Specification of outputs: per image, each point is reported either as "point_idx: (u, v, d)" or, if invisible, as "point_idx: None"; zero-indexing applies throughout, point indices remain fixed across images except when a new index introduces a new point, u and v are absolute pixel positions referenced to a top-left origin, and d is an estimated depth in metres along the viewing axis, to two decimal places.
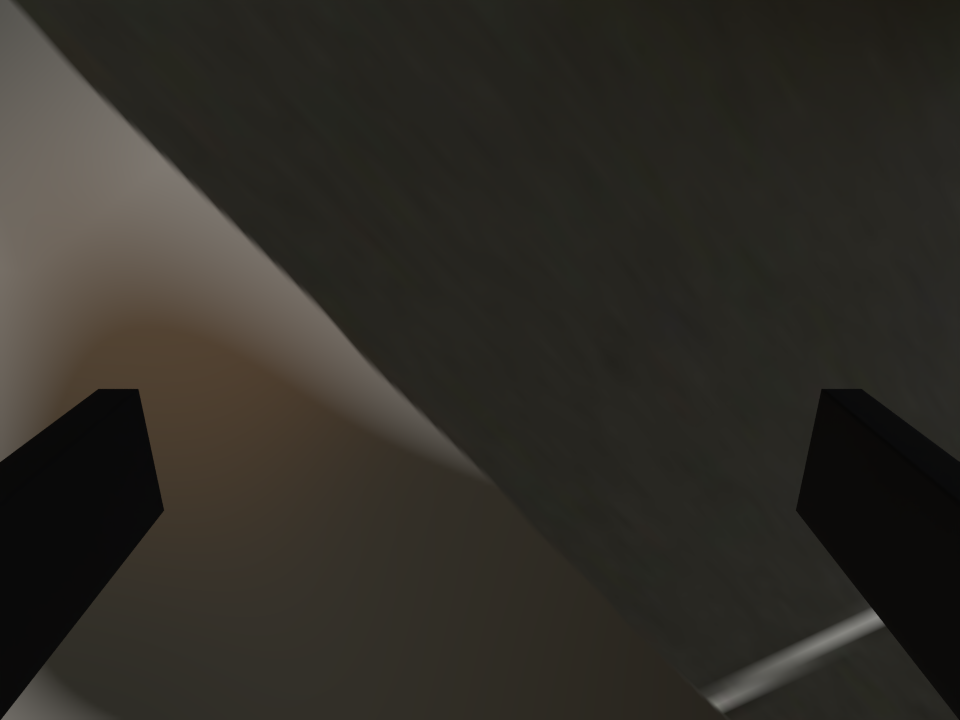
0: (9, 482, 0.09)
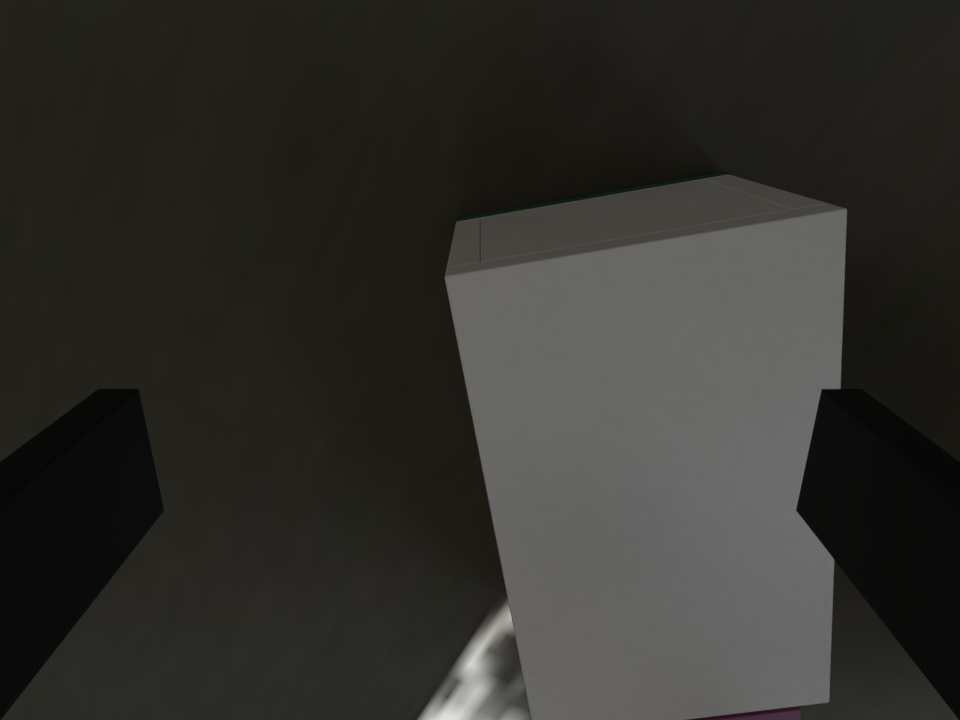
0: (9, 482, 0.09)
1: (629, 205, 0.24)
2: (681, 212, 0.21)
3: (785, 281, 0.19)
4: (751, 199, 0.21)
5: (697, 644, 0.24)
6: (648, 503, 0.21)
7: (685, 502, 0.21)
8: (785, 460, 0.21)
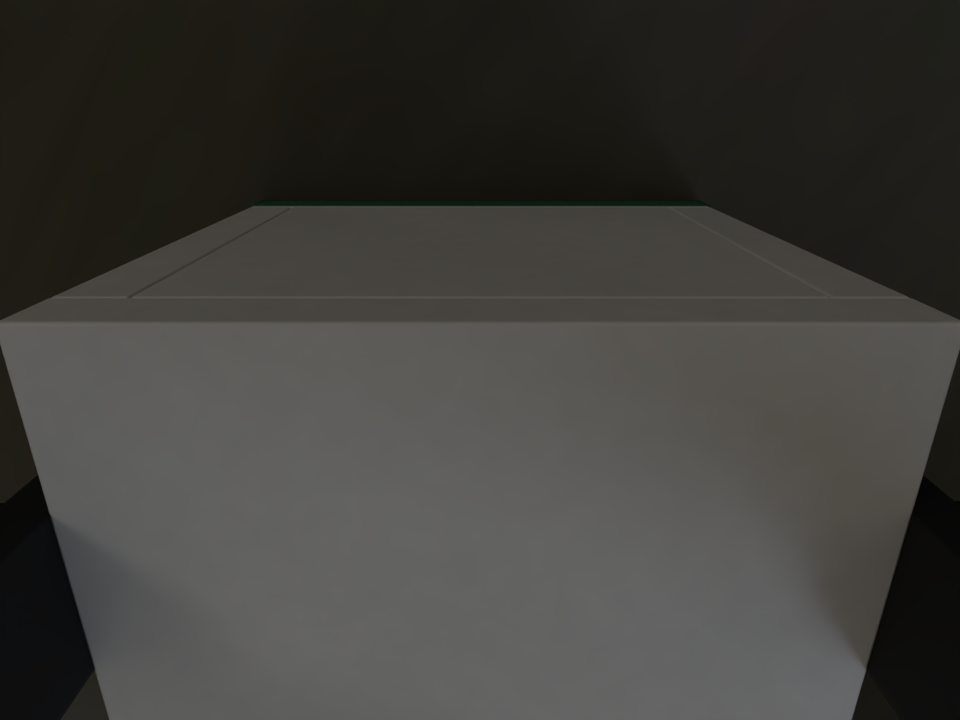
0: None
1: (526, 228, 0.13)
2: (605, 259, 0.10)
3: (796, 458, 0.08)
4: (744, 257, 0.11)
5: None
6: None
7: None
8: None
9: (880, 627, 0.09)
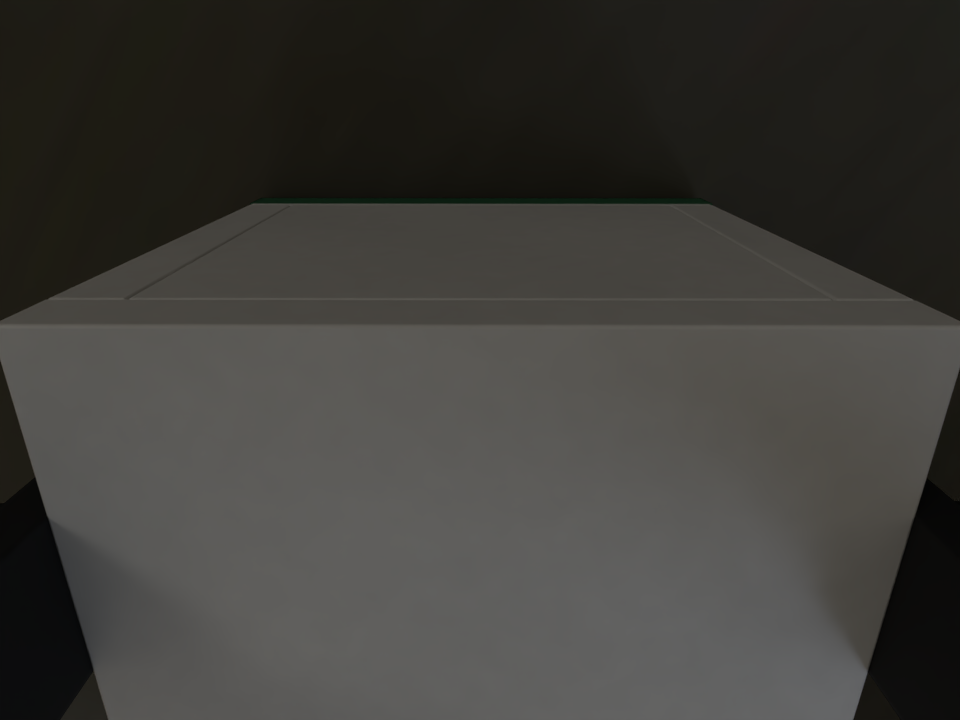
0: None
1: (527, 227, 0.13)
2: (606, 260, 0.10)
3: (798, 462, 0.08)
4: (746, 257, 0.11)
5: None
6: None
7: None
8: None
9: None
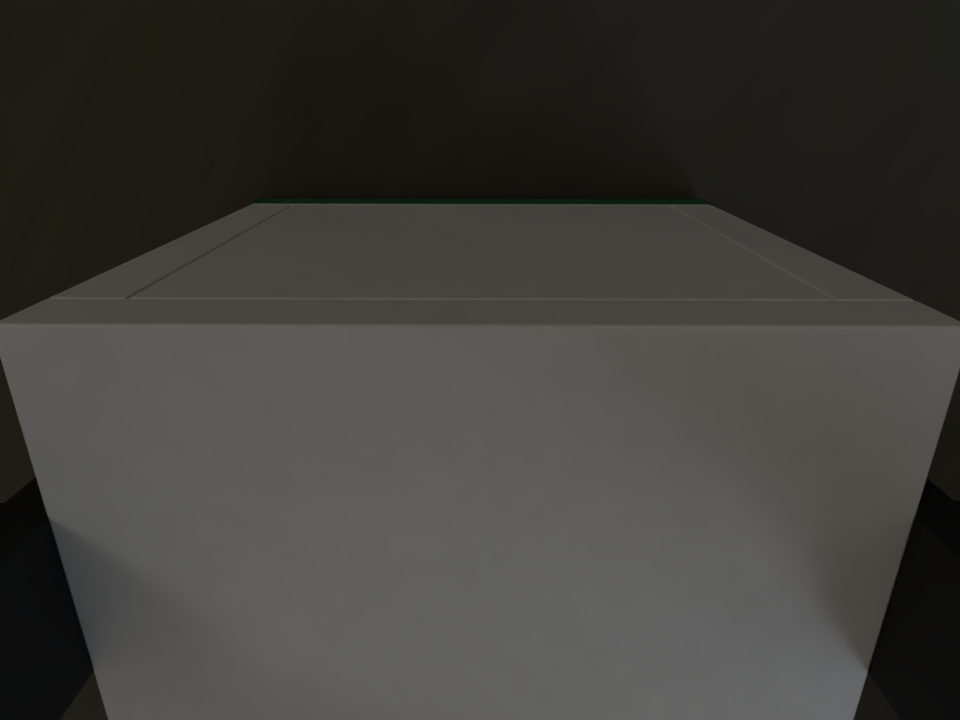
0: None
1: (527, 227, 0.13)
2: (606, 260, 0.10)
3: (798, 463, 0.08)
4: (746, 258, 0.11)
5: None
6: None
7: None
8: None
9: None
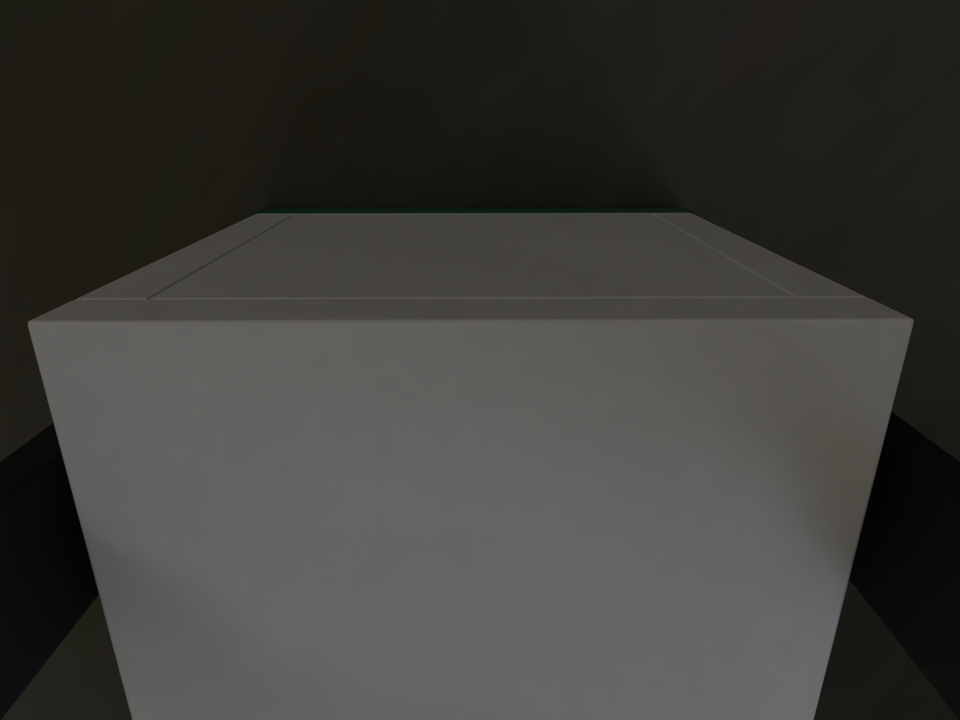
0: (9, 482, 0.09)
1: (517, 234, 0.14)
2: (589, 263, 0.11)
3: (762, 445, 0.09)
4: (719, 261, 0.11)
5: None
6: None
7: None
8: None
9: None
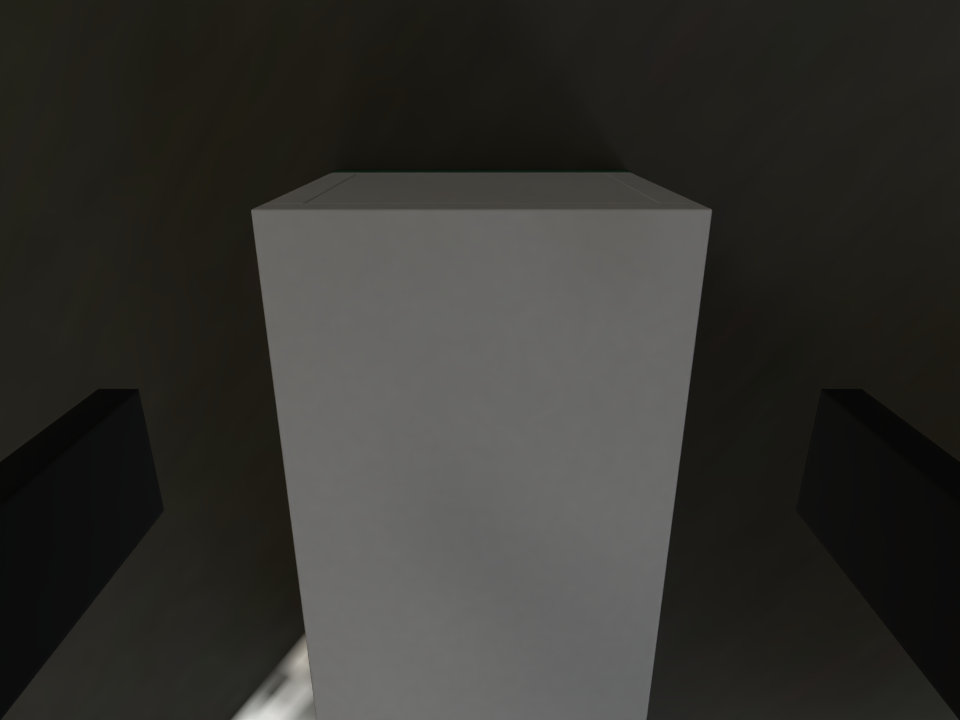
0: (9, 482, 0.09)
1: (509, 181, 0.21)
2: (550, 192, 0.19)
3: (637, 281, 0.16)
4: (628, 191, 0.19)
5: (506, 672, 0.21)
6: (465, 508, 0.19)
7: (506, 514, 0.19)
8: (619, 483, 0.19)
9: None
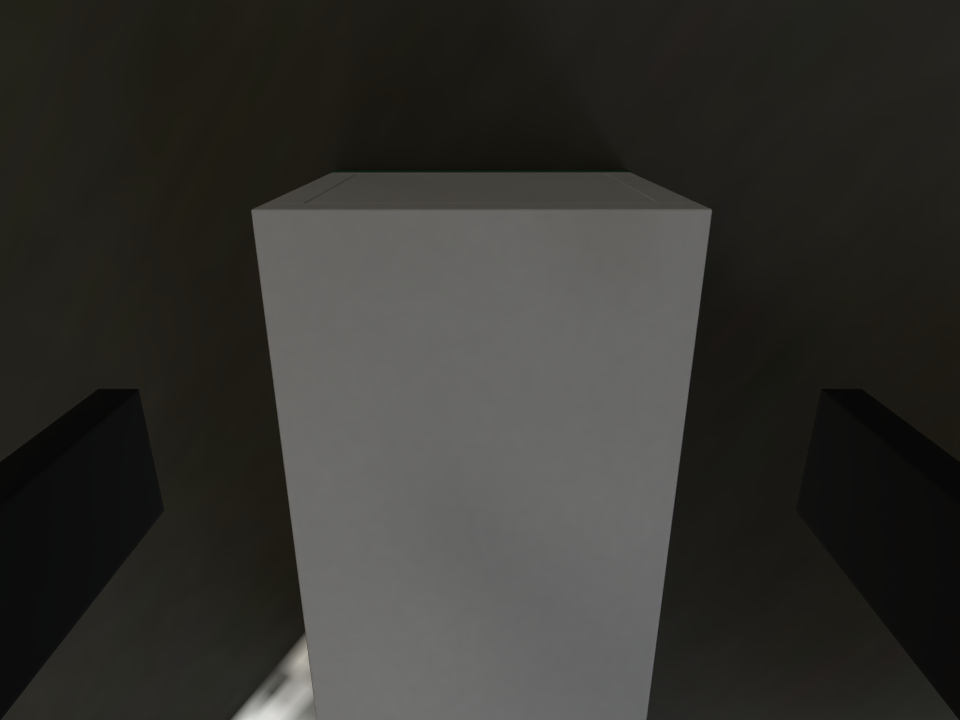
0: (9, 482, 0.09)
1: (509, 181, 0.21)
2: (550, 192, 0.19)
3: (637, 281, 0.16)
4: (628, 191, 0.19)
5: (506, 672, 0.21)
6: (465, 508, 0.19)
7: (506, 513, 0.19)
8: (619, 482, 0.19)
9: None
